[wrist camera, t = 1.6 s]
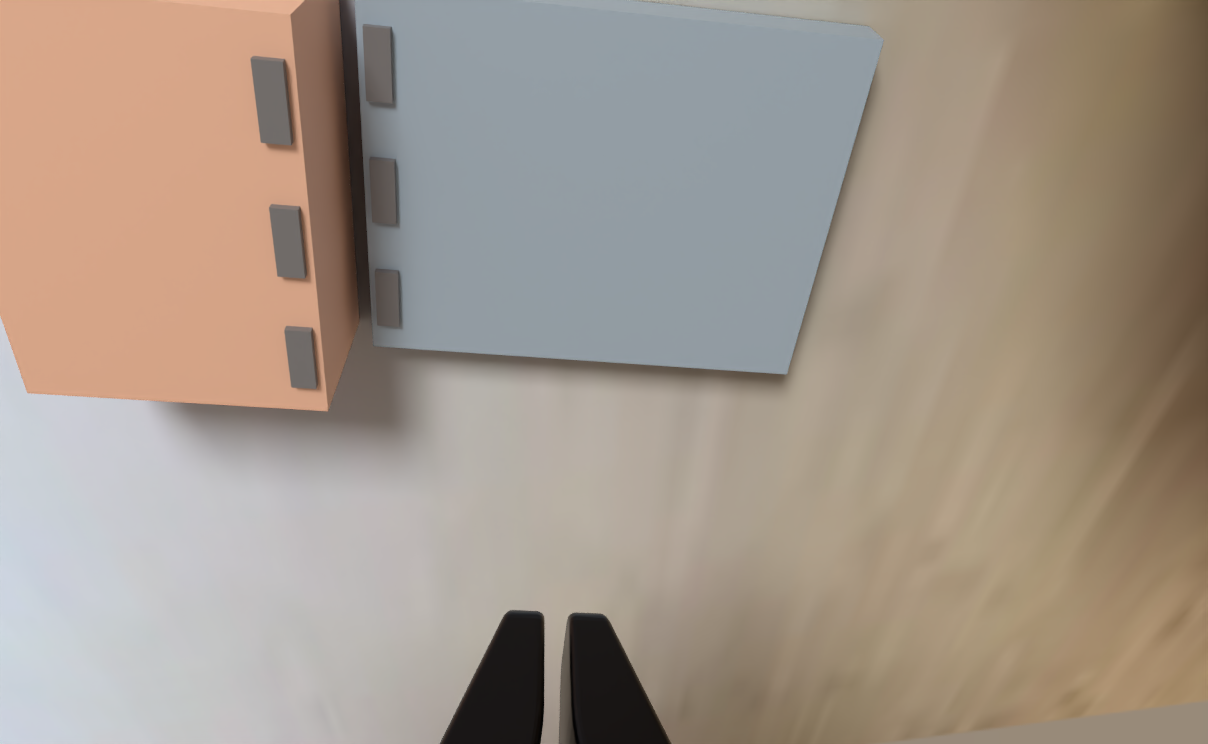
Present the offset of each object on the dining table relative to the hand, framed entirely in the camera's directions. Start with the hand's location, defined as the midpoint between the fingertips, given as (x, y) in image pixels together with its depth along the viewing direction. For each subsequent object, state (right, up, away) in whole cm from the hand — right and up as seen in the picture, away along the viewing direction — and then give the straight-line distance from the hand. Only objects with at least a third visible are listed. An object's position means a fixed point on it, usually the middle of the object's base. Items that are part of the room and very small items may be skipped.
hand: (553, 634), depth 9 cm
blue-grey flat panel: (0, +7, +10) cm, 12 cm away
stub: (-8, +8, +9) cm, 14 cm away
